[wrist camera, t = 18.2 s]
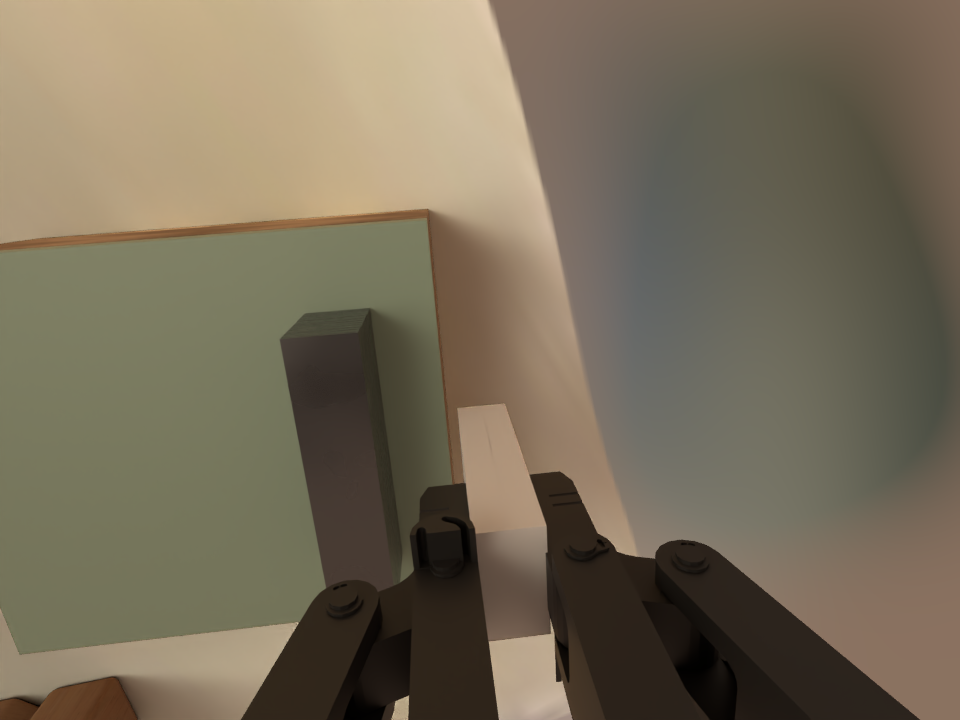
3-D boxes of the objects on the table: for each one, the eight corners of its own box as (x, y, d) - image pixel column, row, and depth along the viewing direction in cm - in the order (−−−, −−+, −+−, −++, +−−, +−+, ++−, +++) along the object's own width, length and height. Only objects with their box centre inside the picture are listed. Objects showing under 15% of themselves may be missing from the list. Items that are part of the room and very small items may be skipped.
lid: (42, 629, 21) (-49, 732, 17) (-103, 258, 17) (-268, 281, 13) (461, 581, 22) (468, 668, 18) (426, 217, 18) (425, 227, 14)
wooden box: (128, 530, 27) (46, 623, 21) (37, 238, 23) (-94, 257, 17) (455, 496, 28) (461, 576, 22) (428, 209, 24) (426, 217, 18)
